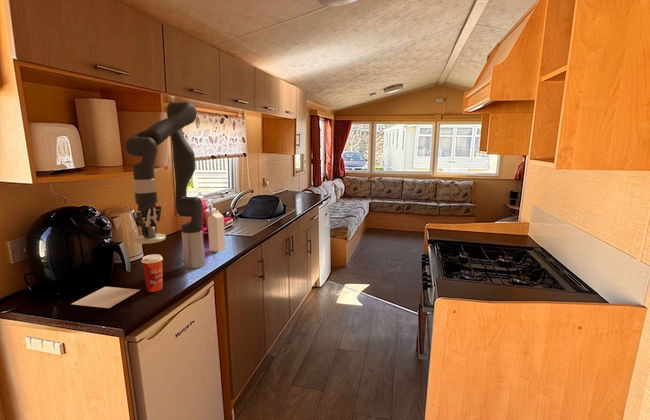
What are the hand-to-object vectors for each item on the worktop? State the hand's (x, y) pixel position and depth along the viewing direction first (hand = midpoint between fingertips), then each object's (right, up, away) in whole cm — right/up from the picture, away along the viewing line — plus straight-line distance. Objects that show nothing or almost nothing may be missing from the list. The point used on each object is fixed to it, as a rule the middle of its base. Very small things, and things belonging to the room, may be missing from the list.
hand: (149, 234), depth 136 cm
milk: (+9, -13, +57) cm, 59 cm away
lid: (0, -2, 0) cm, 2 cm away
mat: (-15, -24, -3) cm, 28 cm away
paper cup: (0, -23, +4) cm, 23 cm away
